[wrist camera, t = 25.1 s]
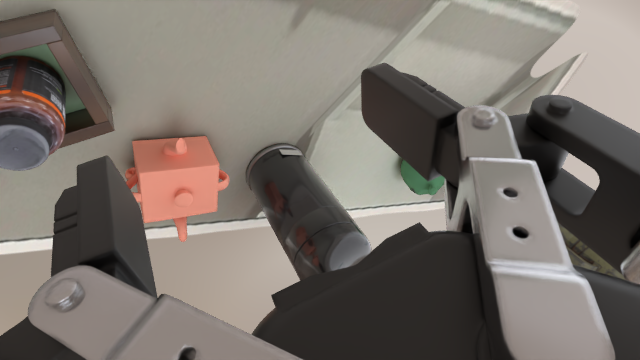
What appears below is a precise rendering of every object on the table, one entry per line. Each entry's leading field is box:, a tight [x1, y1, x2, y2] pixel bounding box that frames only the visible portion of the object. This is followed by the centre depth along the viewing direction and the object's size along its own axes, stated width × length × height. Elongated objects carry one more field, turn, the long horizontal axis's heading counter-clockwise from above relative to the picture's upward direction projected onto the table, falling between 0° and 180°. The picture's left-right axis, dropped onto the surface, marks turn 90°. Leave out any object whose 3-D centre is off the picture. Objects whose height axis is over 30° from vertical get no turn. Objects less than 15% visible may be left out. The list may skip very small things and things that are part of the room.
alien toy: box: [401, 160, 445, 195], centre depth 66 cm, size 7×8×10 cm
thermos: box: [557, 222, 625, 280], centre depth 69 cm, size 9×12×35 cm
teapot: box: [125, 136, 229, 242], centre depth 44 cm, size 12×15×8 cm
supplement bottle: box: [0, 56, 66, 171], centre depth 31 cm, size 6×6×11 cm
